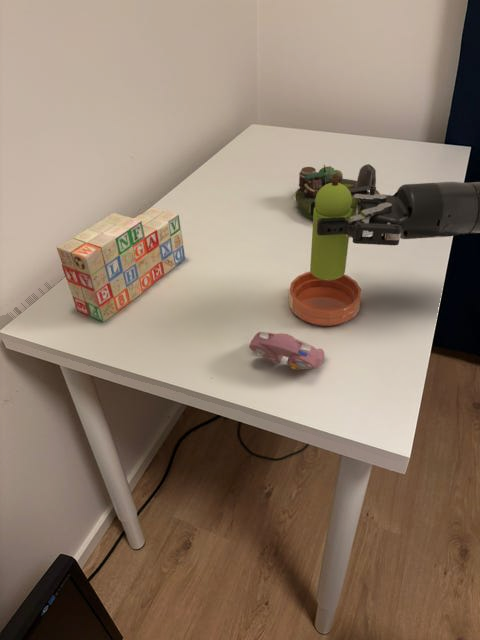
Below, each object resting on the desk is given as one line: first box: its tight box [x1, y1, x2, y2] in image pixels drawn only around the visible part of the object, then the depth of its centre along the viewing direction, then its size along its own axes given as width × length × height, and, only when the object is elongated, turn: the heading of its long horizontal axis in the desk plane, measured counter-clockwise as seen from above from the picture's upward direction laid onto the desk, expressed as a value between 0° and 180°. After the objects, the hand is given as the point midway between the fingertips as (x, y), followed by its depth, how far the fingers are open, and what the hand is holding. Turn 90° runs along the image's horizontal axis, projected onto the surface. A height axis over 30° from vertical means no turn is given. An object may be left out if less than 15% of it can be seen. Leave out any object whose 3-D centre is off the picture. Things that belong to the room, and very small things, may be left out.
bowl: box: [288, 271, 362, 327], centre depth 77 cm, size 11×11×3 cm
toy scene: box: [294, 163, 381, 221], centre depth 101 cm, size 18×18×11 cm
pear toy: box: [309, 174, 352, 280], centre depth 68 cm, size 5×5×15 cm
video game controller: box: [248, 330, 325, 370], centre depth 66 cm, size 10×5×7 cm, turn 64°
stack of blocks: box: [56, 206, 186, 323], centre depth 81 cm, size 21×6×12 cm, turn 147°
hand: (314, 217), depth 67 cm, fingers closed on pear toy, 5 cm apart
